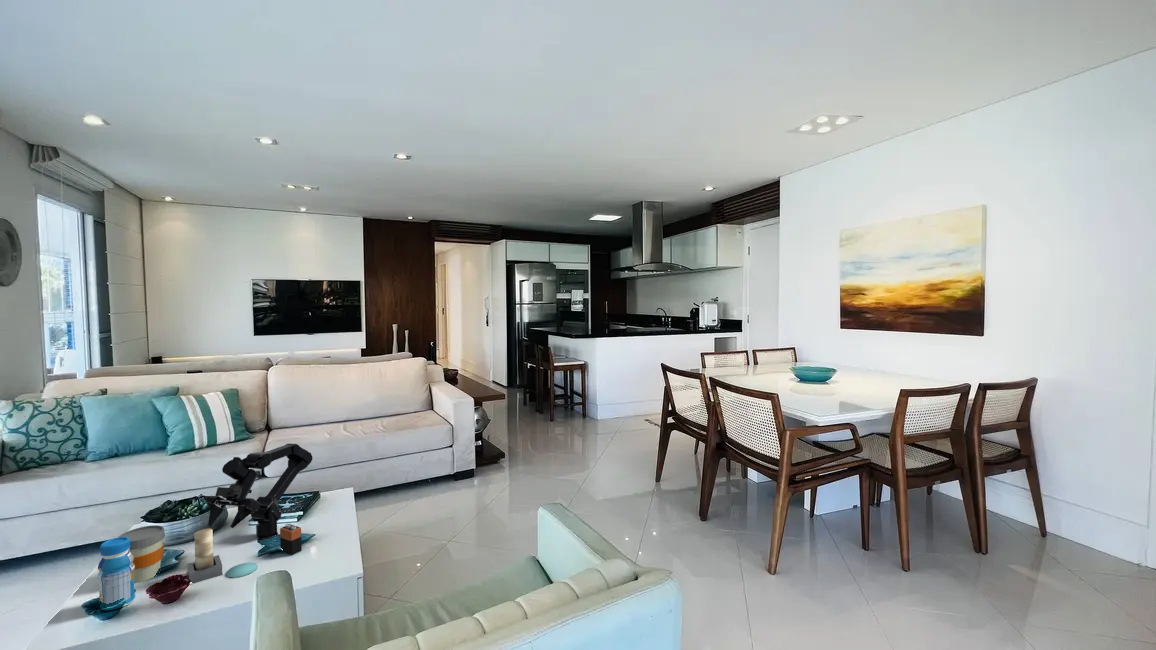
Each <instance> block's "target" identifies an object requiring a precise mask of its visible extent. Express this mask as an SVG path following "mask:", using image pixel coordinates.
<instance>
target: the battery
mask: <svg viewBox="0 0 1156 650" xmlns="http://www.w3.org/2000/svg"><path fill="white" fill-rule="evenodd" d="M279 536H280V537H279V539H280V540H279V544H280V545H279V547H281V548H282V549H283V552H282V553H284V552H285V554H286V553H287V555H290V556H294V555H295V554H297V553H299V552H302V545H303V544H302V527H300V526H297V525H294V524H292V523H285V524H284V526H281V527H280V528H279Z"/></svg>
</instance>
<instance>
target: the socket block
mask: <svg viewBox="0 0 1156 650" xmlns="http://www.w3.org/2000/svg"><path fill="white" fill-rule="evenodd" d="M213 563H214V566H210V567H207V568H203V569H200V570H196V571H195V561H192V562H189V563H186V574H187V577H188V576H189V579H190V580H191V582H192V583H194V584H197V583H201V582H203V581H207V580H210V579H214V578H217V577H220V576H222V575H223V564H222V560H221V558H220V555H219V554H218V555H213Z"/></svg>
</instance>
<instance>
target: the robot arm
mask: <svg viewBox="0 0 1156 650" xmlns="http://www.w3.org/2000/svg"><path fill="white" fill-rule="evenodd" d="M285 457H286V458H287V459H288V460H287V467H286V469H285V470H284V472H283V473H282V474H281V475H280V477H279V478H278V480H277V481H276V483H275V484H274V485H273V487H272V488H271V489H270V491H269V492H268V493H267V494H266V495H265V496H259V497H257V499H254V498H251V497H249V498H247V496H248V495H249V494H252V492H253V490H252V488H253V485H254V484H255V481H256V480H257V479H262V474H261V471H260V470H263V469H265V468H267V467H268V466H270V465H271V464H272V462H274V461H277V460H279V459H282V458H285ZM312 461H313V455H312V453H311V452H309V451H308V450H307V449H306V448H305V449H304V448H303V447H301V446H300V445H299V444H298V443H286V444H284V445H280V446H278V447H276V448H273V449H270V450H266V451H259V452H251V453H250V452H249V453H248V454H247V455H246V456H245V458H243V459H242V458H241V457H239V456H233V459H231V460H229V461H227V462H226V463H225V464H224V465H223V466H222V471H221V472H222V473H223V474H224V475H226V476H228V477H229V478H231V479H232V480H234V481H235V482H234V483H232V484H230V485H229V487H226V486H225V487H224V486H222V487H220V486H218V487H217V488H216V492H215V495H209V496H208V497H206V500H205V501H204V503H205V504H206V506H208V508H209V516H208V523H207V526H208V527H212V526H213V524H214V523H215V522H216V521H217V519H218V518H219V517H220V515H221V514H222V513H223V512H224V510H225V509H224V508H225V507H226V506H229V507H230V506H232V507H237V512H236V514H235V516H234V519H232V522H231V524H230V528H231V529H234V528H235V527H236V526H238V525H239V524H240V523H241V522H242V521H244V520H245V519H246V518H248V516H250V517H251V518H252V521H253V522H257V524H256V525H255V536H256V537H257V538H258V539H262V540H264V539H263V538H265V539H269V538H272V536H273V537H276V536H278V535H279V532H278V522H279V520H280V519H282V518H281V517H282V512H281V511H280V510H278V509H279V501H280V499H281V498H282V496H283V495H284V494H285V493H286V491H287V489H288V488H289V486H290V485H291V484H292V482H293V481H294V480H295V478H296V477H297V475H298V474H299V473H300V472H302V471H303V470H305V469H306V468H307V467H308V466H309V465H310V464H311V463H312ZM255 469H256V470H255ZM275 535H276V536H275ZM268 537H269V538H268Z"/></svg>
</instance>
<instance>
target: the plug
mask: <svg viewBox="0 0 1156 650" xmlns="http://www.w3.org/2000/svg"><path fill="white" fill-rule="evenodd" d="M213 532H214V531H213V529H212V528H203V529H200V530H197V531H195V532H194V534H193V536H194V562H195V571H196V570H200V569H203V568H207V567H210V566H214V563H213V556H214V539H213V536H214V535H213Z"/></svg>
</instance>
